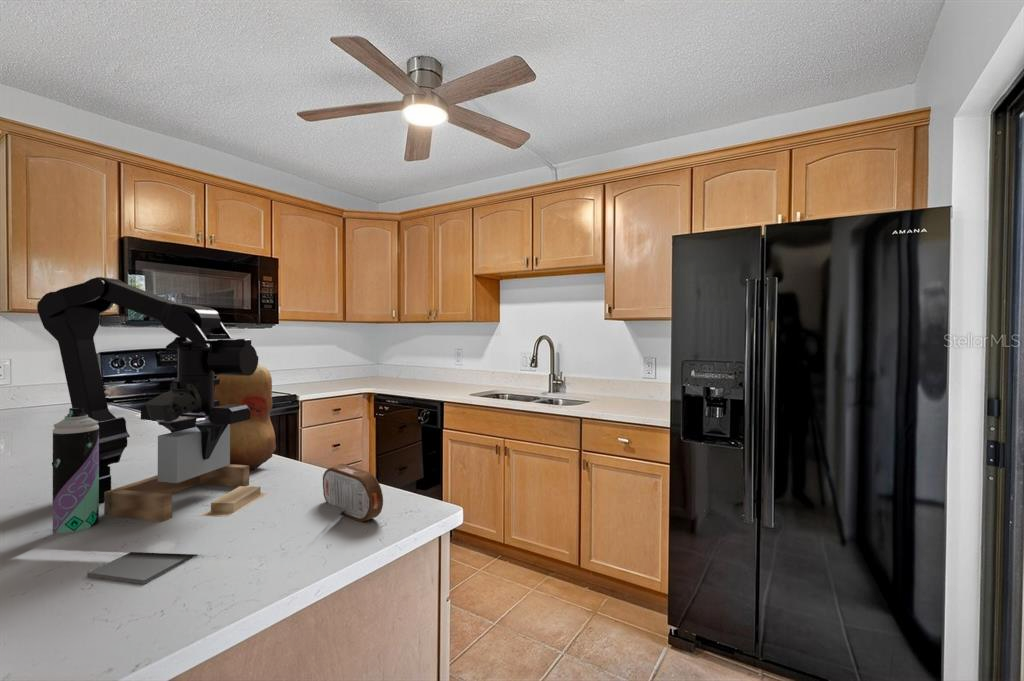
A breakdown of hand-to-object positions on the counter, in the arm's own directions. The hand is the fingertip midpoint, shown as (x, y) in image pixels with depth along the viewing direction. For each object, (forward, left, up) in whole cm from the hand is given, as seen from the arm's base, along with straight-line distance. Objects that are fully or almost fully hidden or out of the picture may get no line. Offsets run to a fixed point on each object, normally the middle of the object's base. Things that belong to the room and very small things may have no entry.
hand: (195, 458), depth 90 cm
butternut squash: (-7, +21, -9) cm, 23 cm away
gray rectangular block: (0, 0, -3) cm, 3 cm away
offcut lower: (+8, 0, -10) cm, 13 cm away
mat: (+12, -16, -9) cm, 22 cm away
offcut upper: (+8, 0, -8) cm, 11 cm away
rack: (-3, 0, -9) cm, 9 cm away
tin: (+30, +3, -9) cm, 31 cm away
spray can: (-8, -14, -9) cm, 19 cm away
